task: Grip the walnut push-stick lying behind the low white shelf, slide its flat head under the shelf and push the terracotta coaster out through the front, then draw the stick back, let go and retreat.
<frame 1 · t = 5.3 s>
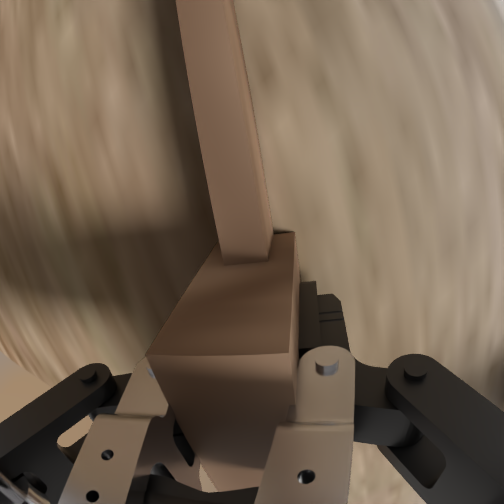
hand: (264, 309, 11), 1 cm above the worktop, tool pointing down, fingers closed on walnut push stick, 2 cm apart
walnut push stick: (272, 334, 12), on the worktop, touching gripper
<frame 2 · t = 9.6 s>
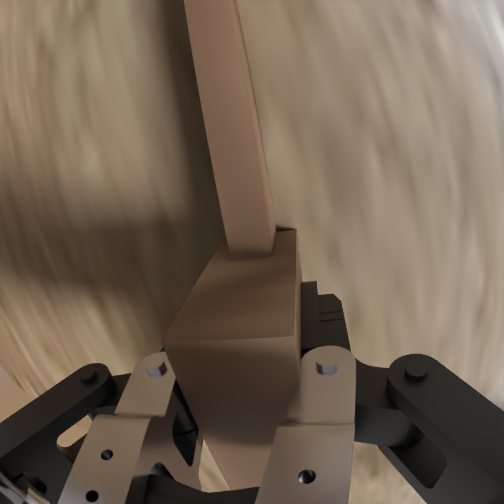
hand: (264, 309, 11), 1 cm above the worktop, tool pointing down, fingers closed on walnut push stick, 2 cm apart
walnut push stick: (274, 327, 13), on the worktop, touching gripper
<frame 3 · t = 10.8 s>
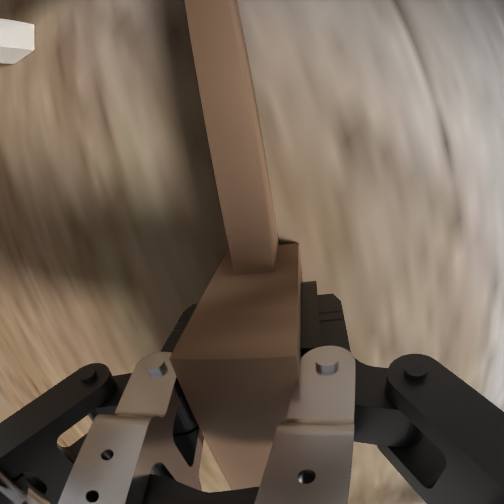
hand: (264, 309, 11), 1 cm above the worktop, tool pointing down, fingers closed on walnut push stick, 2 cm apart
walnut push stick: (276, 336, 13), on the worktop, touching gripper
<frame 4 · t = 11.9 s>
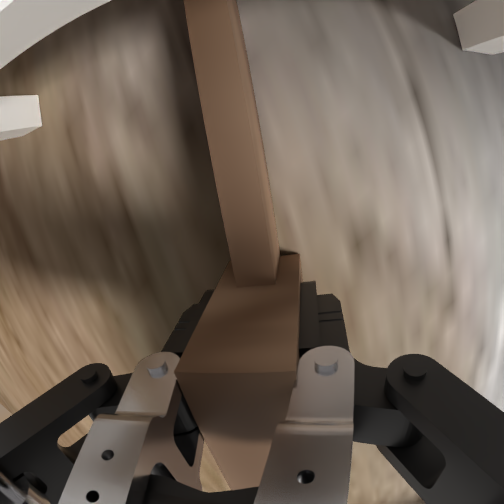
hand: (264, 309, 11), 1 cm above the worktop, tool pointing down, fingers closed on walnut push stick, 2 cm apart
walnut push stick: (278, 344, 13), on the worktop, touching gripper
when the fingers open (1 cm above the worktop, at t = 14.3 s): walnut push stick stays where it is, on the worktop.
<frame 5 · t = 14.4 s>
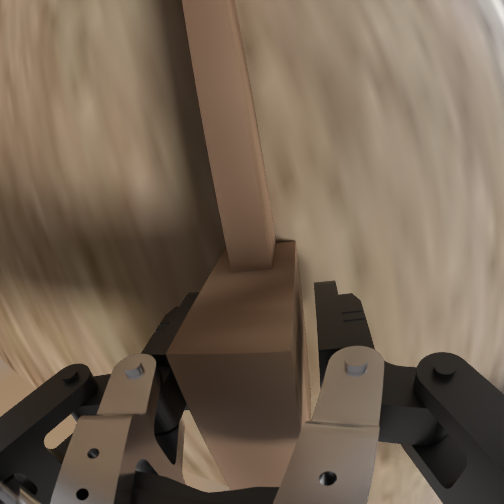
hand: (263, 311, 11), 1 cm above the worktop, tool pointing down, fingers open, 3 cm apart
walnut push stick: (274, 334, 13), on the worktop
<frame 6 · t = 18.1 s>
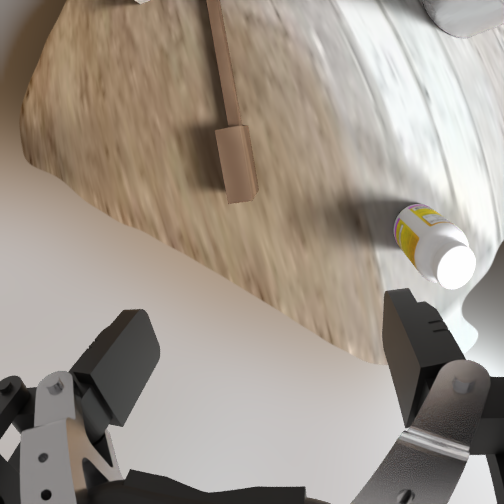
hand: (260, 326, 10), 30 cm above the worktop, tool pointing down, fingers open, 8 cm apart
walnut push stick: (242, 159, 38), on the worktop
supplement bottle: (414, 226, 38), on the worktop
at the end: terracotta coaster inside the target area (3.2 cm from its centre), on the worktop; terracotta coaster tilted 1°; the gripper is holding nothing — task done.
